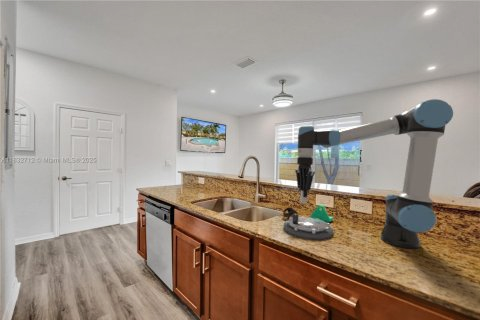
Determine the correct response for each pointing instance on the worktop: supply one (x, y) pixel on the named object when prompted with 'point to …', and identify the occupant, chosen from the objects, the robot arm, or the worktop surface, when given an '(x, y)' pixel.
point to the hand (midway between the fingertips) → (303, 203)
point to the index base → (309, 235)
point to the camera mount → (321, 214)
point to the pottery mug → (289, 212)
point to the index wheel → (307, 224)
